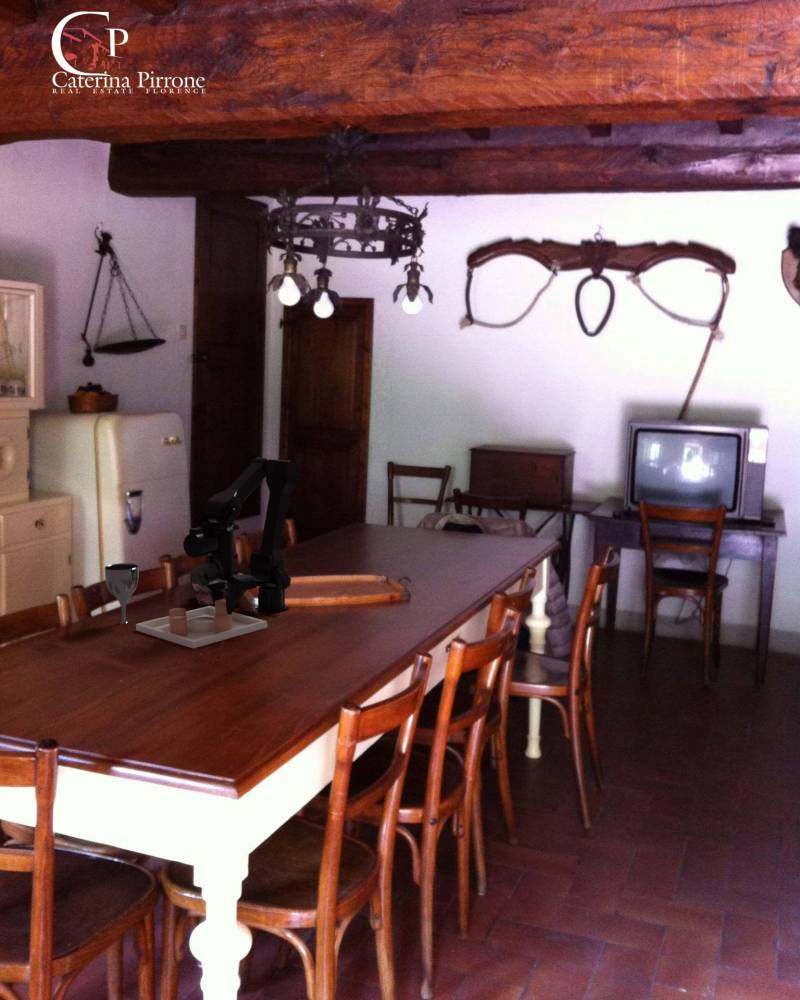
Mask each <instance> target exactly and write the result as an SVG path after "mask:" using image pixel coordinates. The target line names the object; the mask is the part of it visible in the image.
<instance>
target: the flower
mask: <svg viewBox="0 0 800 1000" xmlns="http://www.w3.org/2000/svg"><path fill="white" fill-rule="evenodd" d="M239 575H244V573H241V572H239V571H238V575H234V577H235V576H239ZM191 585H192V587H193V590H194V591H196V592H197V593H195V594H194V595H195V597H196V600H197V603H198V605H199V606H212V607H214V604H213V601H212V598H211V596H210V594H209V592H208V590H207V589H206V588H204V587H203V586H200V585H197V584H196V585H195V584H193V583H192V584H191ZM225 588H227V583H225ZM247 591H248V590H245V591H243V592H242V593H241V595H240V597H239V599H238V601H237V602H238V603H239V602H240V600H241V598H242V596H243V595H244V594H245V593H246V592H247ZM223 599H225V594H224V596H223Z"/></svg>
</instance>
